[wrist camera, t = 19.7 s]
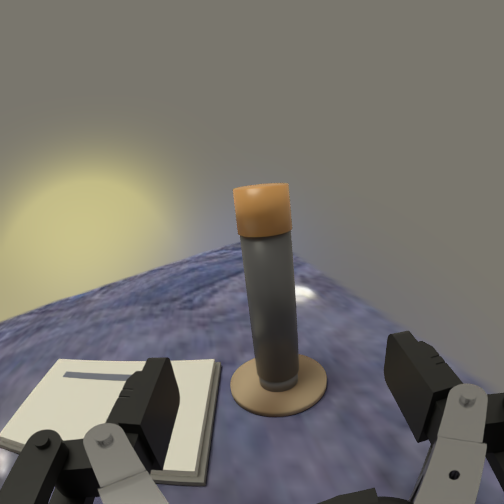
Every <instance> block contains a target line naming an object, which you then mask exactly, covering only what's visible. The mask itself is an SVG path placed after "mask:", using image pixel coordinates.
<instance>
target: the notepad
mask: <svg viewBox="0 0 504 504" xmlns="http://www.w3.org/2000/svg"><path fill="white" fill-rule="evenodd" d="M145 363H146V361H91V360H69V359H59V360H58V361H57V362H56V363H55V364H54V366H53V367H52V368H51V369H50V370H49V372H48V373H47V374H46V375H45V376H44V378H43V379H42V380H41V381H40V383H39V384H38V385H37V386H36V388H35V389H34V390H33V391H32V393H31V394H30V395H29V396H28V398H27V399H26V400H25V401H24V403H23V404H22V405H21V406H20V408H19V409H18V410H17V412H16V413H15V414H14V416H13V417H12V418H11V420H10V421H9V422H8V423H7V425H6V426H5V427H4V429H3V430H2V432H1V433H0V447H1V448H4V449H6V450H9V451H12V452H15V453H18V454H20V453H21V451H22V449H23V447H24V446H25V444H26V442H27V440H28V439H29V438H30V437H31V436H32V435H33V434H34V433H36V432H38V431H41V430H46V429H49V430H54V431H56V432H57V433H58V434H59V435H60V437H61V438H62V440H63V441H65V440H75V439H83V438H84V436H85V434H86V433H87V432H88V431H89V430H90V429H91V428H92V427H94V426H96V425H99V424H103V423H105V422H106V420H107V418H108V416H109V414H110V412H111V410H112V408H113V406H114V404H115V402H116V400H117V398H119V394H120V392H121V390H123V389H122V388H123V386H124V384H125V382H126V380H127V379H128V378H129V377H130V376H131V375H132V374H133V373H135V372H136V371H142V369H143V367H144V365H145ZM171 364H172V368H173V371H174V375H175V378H176V382H177V385H178V388H179V393H180V405H179V409H178V413H177V416H176V420H175V424H174V428H173V432H172V436H171V440H170V443H169V447H168V451H167V455H166V459H165V463H164V467H163V471H161V470H151V473H150V476H151V478H152V479H153V481H154V482H155V483H159V484H172V485H188V486H205V483H206V475H207V467H208V460H209V452H210V445H211V437H212V430H213V422H214V415H215V408H216V401H217V393H218V386H219V379H220V372H221V362H215V361H214V359H208V360H185V361H171Z"/></svg>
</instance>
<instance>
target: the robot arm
mask: <svg viewBox="0 0 504 504" xmlns="http://www.w3.org/2000/svg"><path fill="white" fill-rule="evenodd" d="M384 376H385V381H386V383H387V385H388V387H389V389H390V391H391V393H392V395H393V397H394V398H395V400H396V402H397V404H398V406H399V408H400V410H401V412H402V414H403V416H404V417H405V419H406V421H407V423H408V425H409V427H410V429H411V431H412V433H413V435H414V437H415V439H416V441H417V443H419V442H422V441H425V440H428V439H429V441H430V443H431V445H430V448H429V450H428V453H427V456H426V459H425V462H424V464H423V467H422V470H421V472H420V475H419V477H418V480H417V482H416V485H415V487H414V489H413V492H412V494H411V496H410V498H409V500H408V501H407V500H404V499H400V498H394V497H377V493H376V490H375V488H371V489H367V490H363V491H358V492H354V493H349V494H344V495H339V496H336V497H334V498H331V499H328V500H326V501H323V502H321V503H318V504H475V501H476V497H477V493H478V489H479V485H480V480H481V476H482V471H483V466H484V461H485V457H486V458H487V460H488V462H489V464H490V466H491V468H492V470H493V472H494V474H495V475H496V477H497V479H498V481H499V483H500V485H501V487H502V489H503V491H504V393H498V394H486V392H485V391H484V390H483V389H482V388H480V387H479V386H476V385H473V384H463V383H462V381H461V380H460V379H459V378H458V377H457V375H456V374H455V373H454V372H453V370H452V369H451V368H450V367H449V366H448V364H447V363H445V361H444V360H443V358H442V357H441V356H439V354H438V352H437V351H436V350H435V349H434V348H433V347H432V346H430V345H429V344H427V343H425V342H423V341H420V342H418V341H417V340H416V339H415V338H414V336H413V335H412V334H411V333H410V332H409V331H404V332H399V333H394V334H390V335H389V336H388V339H387V348H386V356H385V364H384ZM122 389H123V390H121V392H120V394H119V398H117V400H116V402H115V404H114V406H113V408H112V410H111V412H110V414H109V416H108V418H107V420H106V422H105V423H103V424H99V425H96V426H94V427H92V428H91V429H90V430H89V431H88V432H87V433H86V434H85V436H84V438H83V439H75V440H65V441H63V440H62V438H61V437H60V435H59V434H58V433H57V432H56V431H54V430H49V429H46V430H41V431H38V432H36V433H34V434H33V435H32V436H31V437H30V438H29V439H28V440H27V442H26V444H25V446H24V447H23V449H22V451H21V453H20V454H19V456H18V458H17V460H16V462H15V464H14V465H13V467H12V469H11V471H10V473H9V475H8V477H7V478H6V480H5V482H4V484H3V486H2V488H1V490H0V504H48V502H49V498H50V496H51V493H52V491H53V489H54V486H55V490H54V492H53V495H52V497H51V500H50V502H49V504H93V501H94V498H95V497H99V496H100V497H101V499H102V501H103V503H104V504H169V503H168V502H167V500H166V499H165V497H164V496H163V494H162V493H161V491H160V490H159V488H158V487H157V485H156V484H155V482H154V481H153V479H152V478H151V476H150V473H151V470H161V471H163V467H164V463H165V459H166V455H167V451H168V447H169V443H170V440H171V436H172V432H173V428H174V424H175V420H176V416H177V413H178V409H179V405H180V393H179V388H178V385H177V382H176V378H175V375H174V371H173V368H172V364H171V361H170V359H169V358H148V359H147V361H146V363H145V365H144V367H143V369H142V371H136V372H135V373H133V374H132V375H131V376H130V377H129V378H128V379H127V380H126V382H125V384H124V386H123V388H122Z"/></svg>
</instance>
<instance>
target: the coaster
mask: <svg viewBox="0 0 504 504" xmlns="http://www.w3.org/2000/svg"><path fill="white" fill-rule="evenodd" d="M326 383H327V377H326V372H325V370H324V369H323V367H322V366H321V365H320V364H319V363H318V362H317V361H315V360H313V359H312V358H309V357H307V356H304V355H300V354H299V371H298V382H297V384H296V385H295V386H294V387H293V388H291V389H290V390H287V391H283V392H271V391H267V390H265V389H264V388H262V387H261V385H260V382H259V376H258V374H257V369H256V361H255V358H254V359H252V360H250V361H248V362H246V363H244V364H243V365H242V366H240V367H239V368H238V369H237V370H236V371H235V373H234V374H233V376H232V379H231V392H232V396H233V398H234V400H235V401H236V403H237V404H238V405H239V406H240V407H242V408H243V409H245V410H247V411H249V412H251V413H254V414H257V415H261V416H267V417H282V416H289V415H293V414H297V413H299V412H302V411H304V410H306V409H308V408H310V407H312V406H313V405H314V404H316V403H317V402H318V401H319V400H320V399H321V397H322V396H323V394H324V392H325V390H326Z"/></svg>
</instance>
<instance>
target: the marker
mask: <svg viewBox="0 0 504 504" xmlns="http://www.w3.org/2000/svg"><path fill="white" fill-rule="evenodd" d="M233 194H234V204H235V212H236V221H237V229H238V234H239V235H240V240H241V248H242V257H243V265H244V273H245V281H246V289H247V298H248V306H249V314H250V322H251V330H252V338H253V346H254V354H255V361H256V369H257V374H258V376H259V382H260V385H261V387H262V388H264V389H265V390H267V391H271V392H283V391H287V390H290V389H291V388H293V387H294V386H295V385H296V384H297V382H298V371H299V354H298V333H297V315H296V298H295V282H294V268H293V254H292V241H291V230H292V219H291V209H290V196H289V185H288V184H287V183H270V184H258V185H250V186H244V187H238V188H235V189H233Z"/></svg>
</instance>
